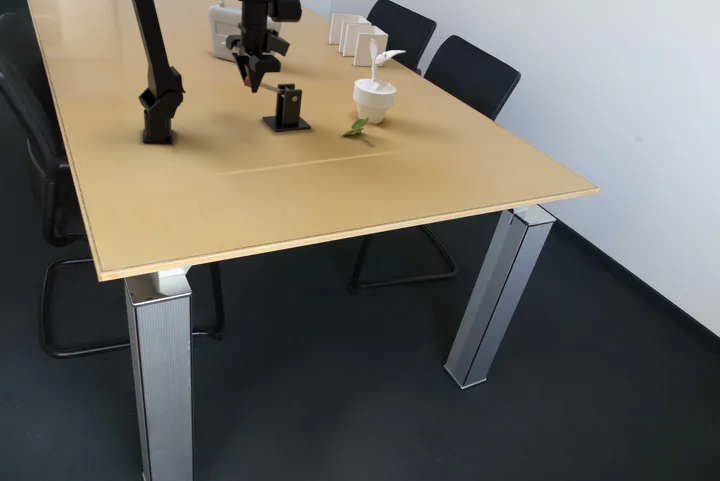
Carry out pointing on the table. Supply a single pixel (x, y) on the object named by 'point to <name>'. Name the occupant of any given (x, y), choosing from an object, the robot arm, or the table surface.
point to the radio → (229, 28)
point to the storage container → (356, 37)
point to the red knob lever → (269, 87)
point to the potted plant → (375, 89)
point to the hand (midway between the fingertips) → (250, 89)
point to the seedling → (358, 127)
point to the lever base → (287, 111)
